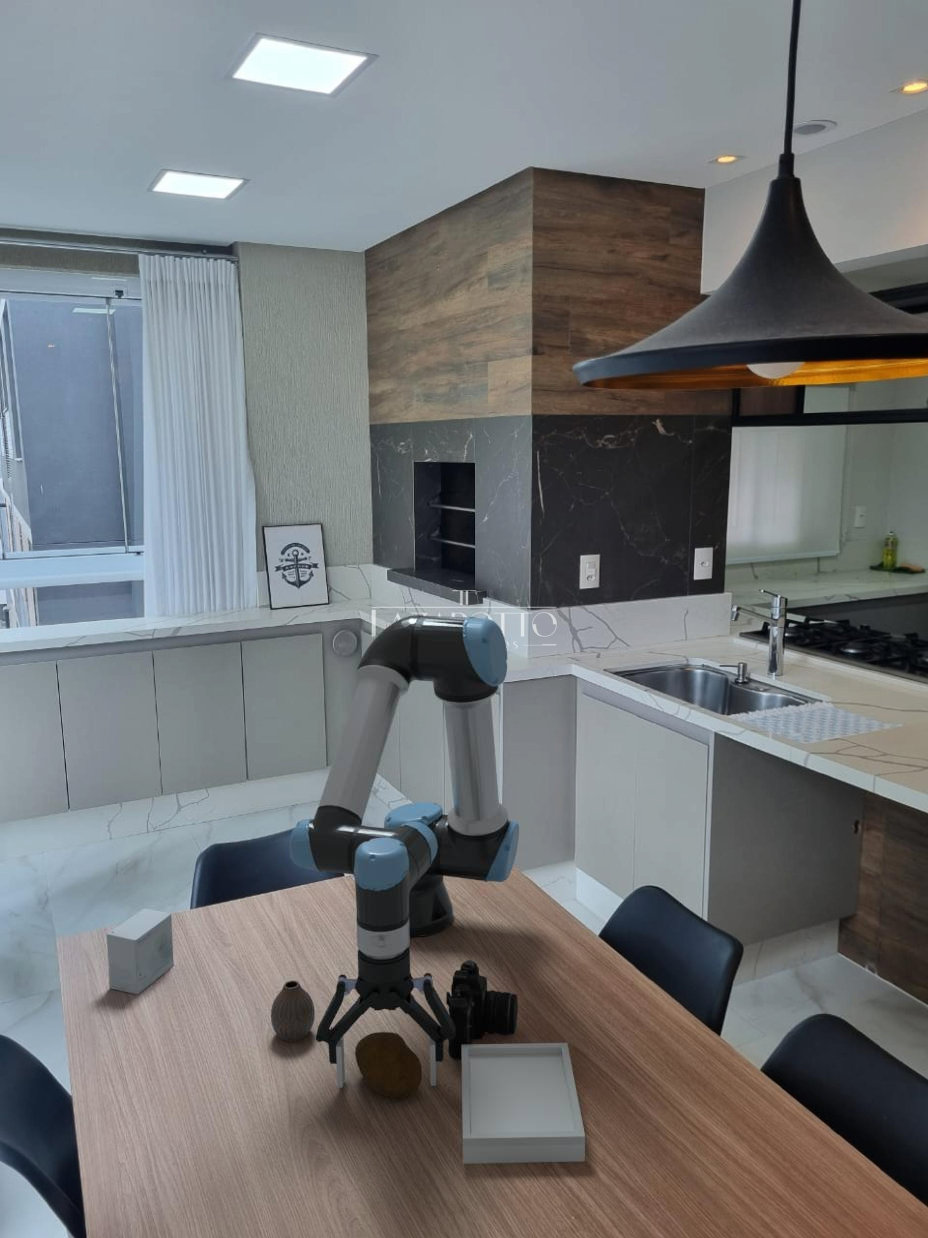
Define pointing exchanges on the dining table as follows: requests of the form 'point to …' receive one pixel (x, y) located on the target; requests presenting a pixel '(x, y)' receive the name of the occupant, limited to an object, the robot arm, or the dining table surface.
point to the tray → (520, 1104)
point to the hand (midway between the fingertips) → (387, 1081)
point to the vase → (292, 1012)
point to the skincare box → (140, 950)
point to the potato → (388, 1064)
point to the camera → (478, 1009)
